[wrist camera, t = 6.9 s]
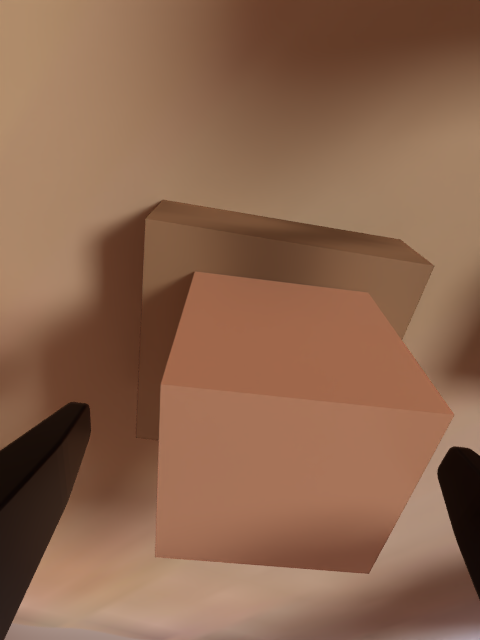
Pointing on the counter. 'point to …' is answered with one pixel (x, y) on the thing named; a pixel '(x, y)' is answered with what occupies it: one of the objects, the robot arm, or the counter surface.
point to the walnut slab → (257, 274)
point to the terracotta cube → (288, 427)
